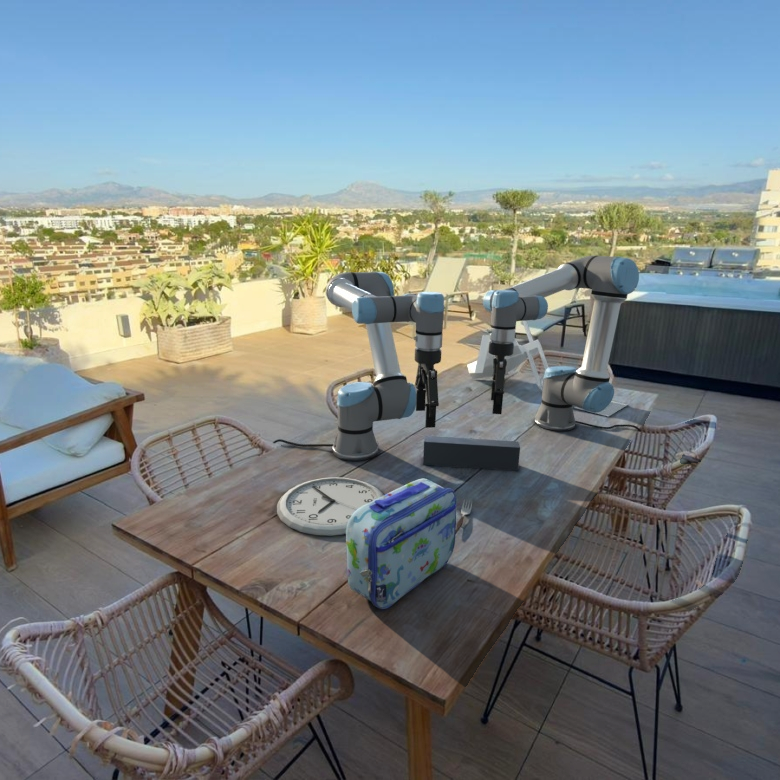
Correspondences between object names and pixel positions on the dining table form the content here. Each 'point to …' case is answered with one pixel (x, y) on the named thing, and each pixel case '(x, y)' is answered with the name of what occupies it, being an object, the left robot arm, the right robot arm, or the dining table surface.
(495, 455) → the beam
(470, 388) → the dining table surface
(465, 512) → the fork
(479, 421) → the dining table surface
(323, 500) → the wall clock
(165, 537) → the dining table surface
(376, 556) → the lunch box
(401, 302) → the left robot arm
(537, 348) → the white plastic object
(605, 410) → the invitation card
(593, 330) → the right robot arm
